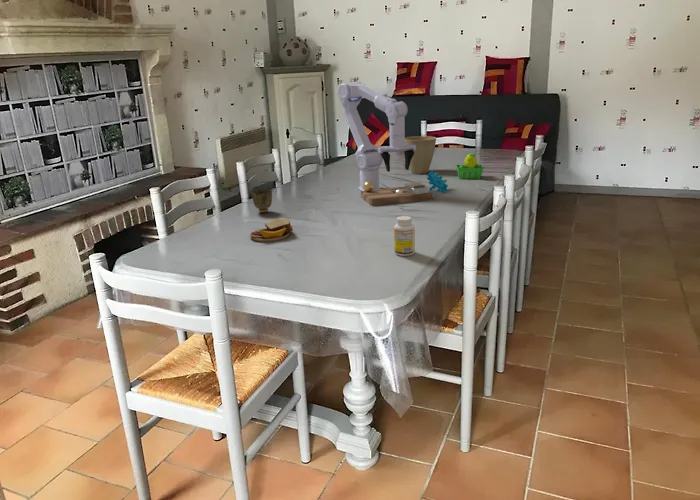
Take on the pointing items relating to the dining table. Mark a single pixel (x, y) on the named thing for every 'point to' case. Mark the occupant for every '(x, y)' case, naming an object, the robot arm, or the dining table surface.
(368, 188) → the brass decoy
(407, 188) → the cover
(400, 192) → the steel ball
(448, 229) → the dining table surface
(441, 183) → the blue irregular figure
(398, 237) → the supplement bottle
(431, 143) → the plant pot
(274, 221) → the toy sandwich meal
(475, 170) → the fruit basket
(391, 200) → the wooden cutting board
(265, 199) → the cup
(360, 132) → the robot arm
